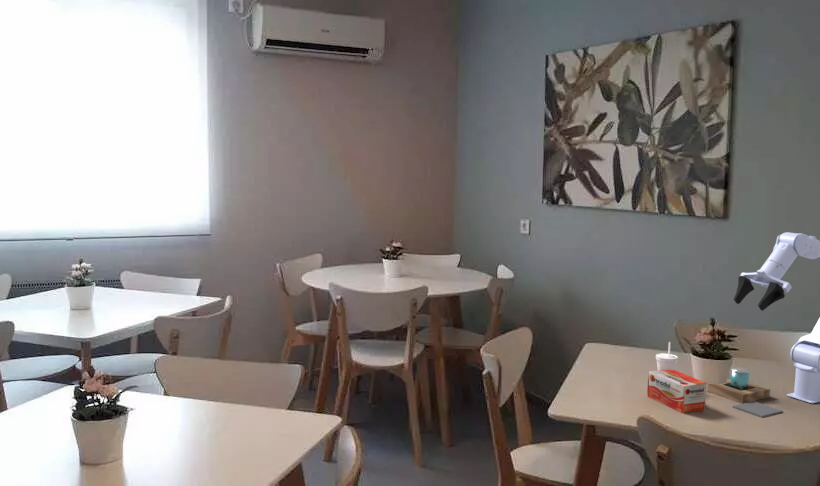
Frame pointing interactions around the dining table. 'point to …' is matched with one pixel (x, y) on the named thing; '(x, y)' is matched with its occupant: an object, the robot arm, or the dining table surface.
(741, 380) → the teal can
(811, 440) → the dining table surface
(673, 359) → the smoothie
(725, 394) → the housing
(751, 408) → the mat
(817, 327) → the robot arm
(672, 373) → the medicine box
